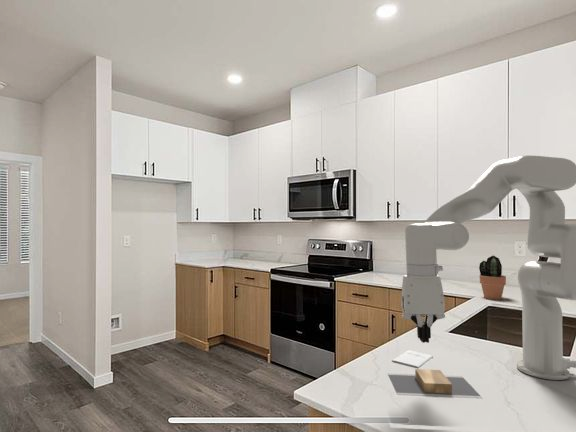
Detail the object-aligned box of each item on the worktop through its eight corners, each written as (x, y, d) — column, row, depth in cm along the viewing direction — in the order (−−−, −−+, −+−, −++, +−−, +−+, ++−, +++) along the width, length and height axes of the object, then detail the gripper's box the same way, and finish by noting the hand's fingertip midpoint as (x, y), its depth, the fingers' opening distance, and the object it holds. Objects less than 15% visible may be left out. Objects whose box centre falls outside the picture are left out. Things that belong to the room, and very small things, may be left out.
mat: (461, 378, 102) (461, 376, 102) (482, 400, 89) (482, 398, 89) (387, 375, 103) (387, 373, 103) (397, 396, 90) (397, 394, 90)
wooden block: (415, 377, 101) (440, 378, 100) (424, 392, 92) (451, 393, 91) (415, 369, 101) (440, 370, 100) (424, 383, 92) (451, 384, 91)
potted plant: (504, 297, 219) (504, 254, 220) (507, 301, 207) (507, 256, 208) (478, 295, 225) (478, 253, 226) (480, 299, 212) (480, 255, 213)
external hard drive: (391, 365, 112) (407, 354, 122) (418, 372, 107) (433, 360, 117) (391, 359, 112) (407, 349, 122) (418, 366, 107) (433, 354, 117)
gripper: (446, 268, 100) (448, 336, 100) (389, 269, 101) (392, 336, 101) (456, 272, 93) (459, 345, 92) (395, 273, 94) (398, 345, 94)
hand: (424, 340), depth 97 cm, fingers closed
